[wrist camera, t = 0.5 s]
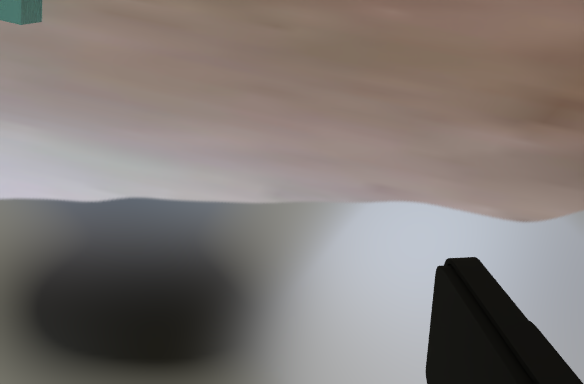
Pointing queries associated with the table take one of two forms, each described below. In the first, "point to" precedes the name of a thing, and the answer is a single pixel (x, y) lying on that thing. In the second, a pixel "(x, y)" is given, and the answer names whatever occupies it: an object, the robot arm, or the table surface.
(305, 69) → the table surface
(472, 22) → the table surface
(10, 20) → the rail
